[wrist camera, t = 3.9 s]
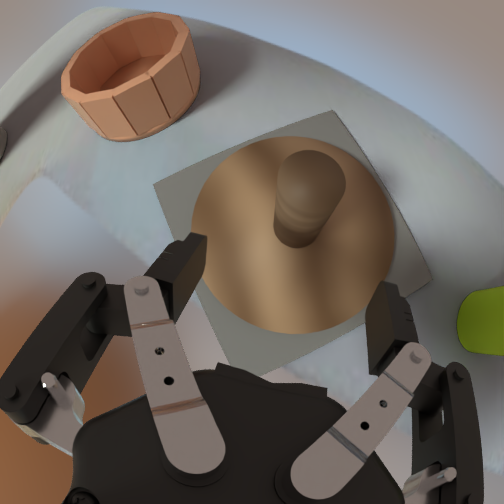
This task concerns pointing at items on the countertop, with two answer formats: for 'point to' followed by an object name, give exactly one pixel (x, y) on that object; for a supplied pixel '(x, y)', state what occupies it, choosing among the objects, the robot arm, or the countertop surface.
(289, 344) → the mat
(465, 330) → the soap dispenser
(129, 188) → the countertop surface
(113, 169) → the countertop surface
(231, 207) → the lid
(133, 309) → the robot arm
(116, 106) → the bowl
